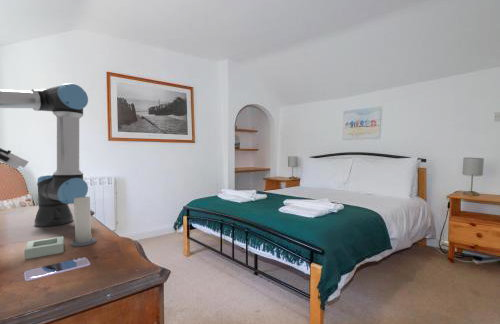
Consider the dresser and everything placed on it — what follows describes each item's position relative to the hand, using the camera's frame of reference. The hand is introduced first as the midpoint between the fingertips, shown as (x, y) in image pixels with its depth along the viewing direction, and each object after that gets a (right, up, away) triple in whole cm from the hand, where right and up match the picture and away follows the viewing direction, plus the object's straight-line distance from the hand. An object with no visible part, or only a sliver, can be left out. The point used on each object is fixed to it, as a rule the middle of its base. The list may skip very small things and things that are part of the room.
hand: (23, 165), depth 100 cm
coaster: (+22, -29, 0) cm, 36 cm away
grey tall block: (+22, -28, 0) cm, 36 cm away
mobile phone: (+28, -30, -22) cm, 47 cm away
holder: (+14, -29, -8) cm, 33 cm away
